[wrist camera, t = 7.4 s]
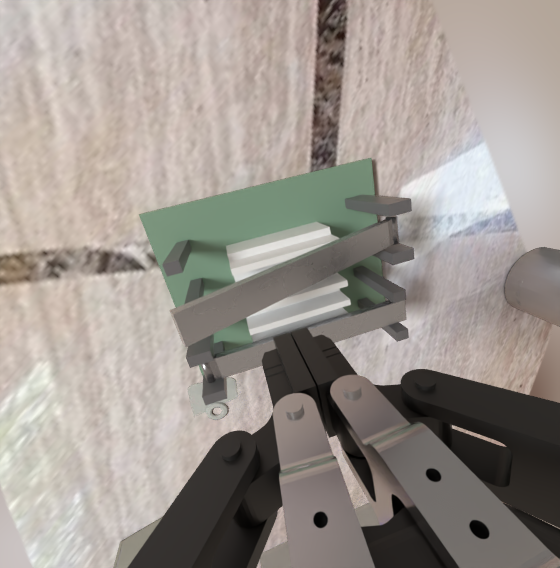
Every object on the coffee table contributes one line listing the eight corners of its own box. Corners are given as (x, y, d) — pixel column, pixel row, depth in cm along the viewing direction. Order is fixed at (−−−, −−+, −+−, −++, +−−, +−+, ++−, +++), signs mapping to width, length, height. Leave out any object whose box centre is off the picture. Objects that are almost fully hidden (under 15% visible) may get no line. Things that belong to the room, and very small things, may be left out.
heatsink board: (366, 158, 31) (426, 149, 22) (383, 319, 39) (433, 359, 30) (141, 213, 29) (107, 227, 20) (204, 375, 36) (201, 438, 27)
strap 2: (399, 295, 29) (405, 299, 28) (401, 316, 29) (406, 320, 29) (199, 357, 26) (198, 363, 26) (207, 378, 27) (207, 384, 26)
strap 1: (390, 215, 26) (399, 215, 25) (392, 241, 27) (400, 242, 26) (168, 308, 17) (172, 313, 16) (182, 343, 18) (187, 348, 17)
